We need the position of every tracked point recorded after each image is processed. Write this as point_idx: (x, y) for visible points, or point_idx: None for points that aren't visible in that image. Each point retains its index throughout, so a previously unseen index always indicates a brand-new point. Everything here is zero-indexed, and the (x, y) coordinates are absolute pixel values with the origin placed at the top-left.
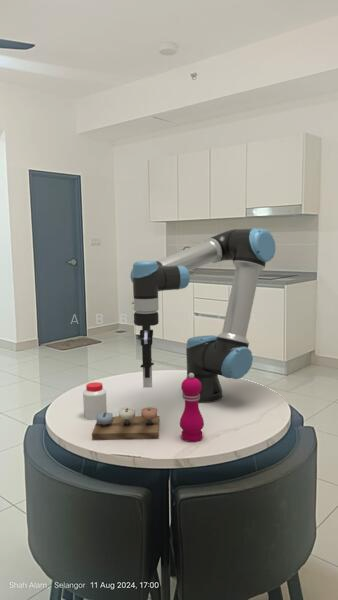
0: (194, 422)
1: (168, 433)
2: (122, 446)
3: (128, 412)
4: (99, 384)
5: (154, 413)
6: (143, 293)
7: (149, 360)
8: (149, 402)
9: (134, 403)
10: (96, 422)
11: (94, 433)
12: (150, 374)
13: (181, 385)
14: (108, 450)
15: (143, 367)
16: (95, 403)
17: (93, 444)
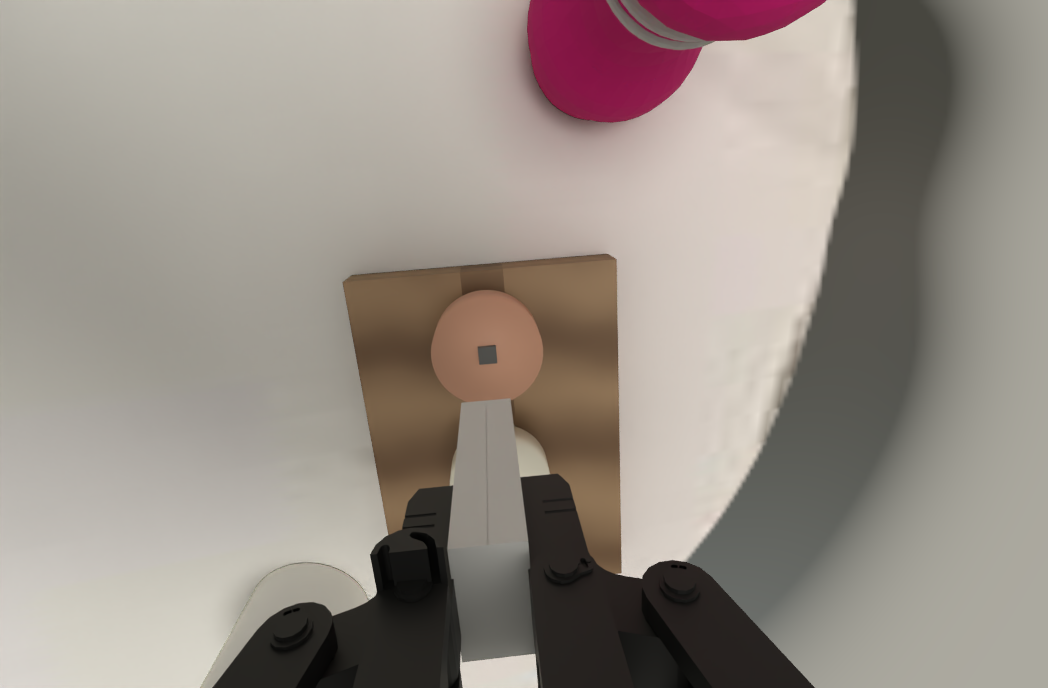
0: None
1: (530, 205)
2: (688, 415)
3: (537, 473)
4: None
5: (524, 311)
6: None
7: (789, 682)
8: (5, 377)
9: (56, 463)
10: None
11: (619, 563)
12: (521, 486)
13: (752, 29)
14: (725, 464)
15: (533, 640)
16: None
17: (659, 535)
